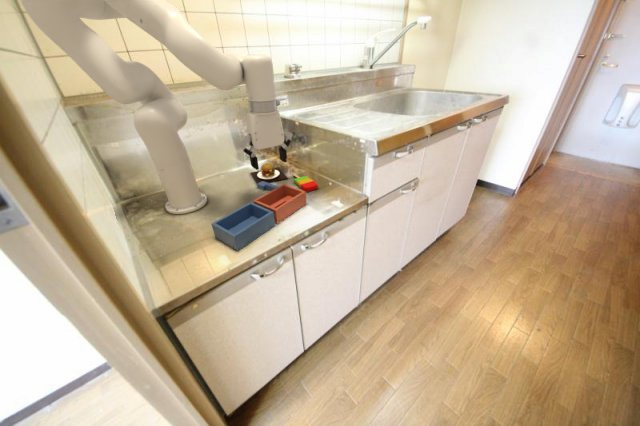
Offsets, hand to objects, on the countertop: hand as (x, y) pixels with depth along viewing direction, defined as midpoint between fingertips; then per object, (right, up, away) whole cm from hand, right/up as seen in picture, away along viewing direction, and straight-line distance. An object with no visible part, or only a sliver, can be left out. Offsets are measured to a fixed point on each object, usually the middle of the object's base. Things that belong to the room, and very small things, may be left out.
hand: (269, 164), depth 80 cm
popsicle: (+9, -4, +17) cm, 19 cm away
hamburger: (-5, -1, +22) cm, 23 cm away
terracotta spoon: (+4, -13, +1) cm, 14 cm away
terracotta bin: (+3, -14, +1) cm, 14 cm away
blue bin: (-5, -20, -8) cm, 23 cm away
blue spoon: (-3, -7, +12) cm, 14 cm away
